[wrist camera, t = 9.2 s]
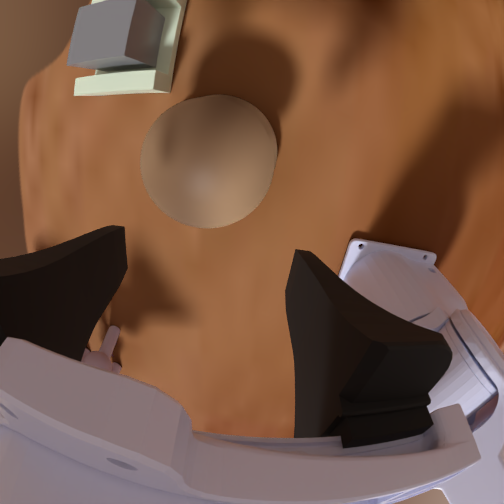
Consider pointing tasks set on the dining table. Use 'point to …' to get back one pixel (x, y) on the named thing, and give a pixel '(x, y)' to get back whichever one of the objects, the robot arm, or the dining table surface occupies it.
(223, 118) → the tan rounded lump
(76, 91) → the pale green flanged block
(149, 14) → the gray metal block
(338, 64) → the dining table surface
